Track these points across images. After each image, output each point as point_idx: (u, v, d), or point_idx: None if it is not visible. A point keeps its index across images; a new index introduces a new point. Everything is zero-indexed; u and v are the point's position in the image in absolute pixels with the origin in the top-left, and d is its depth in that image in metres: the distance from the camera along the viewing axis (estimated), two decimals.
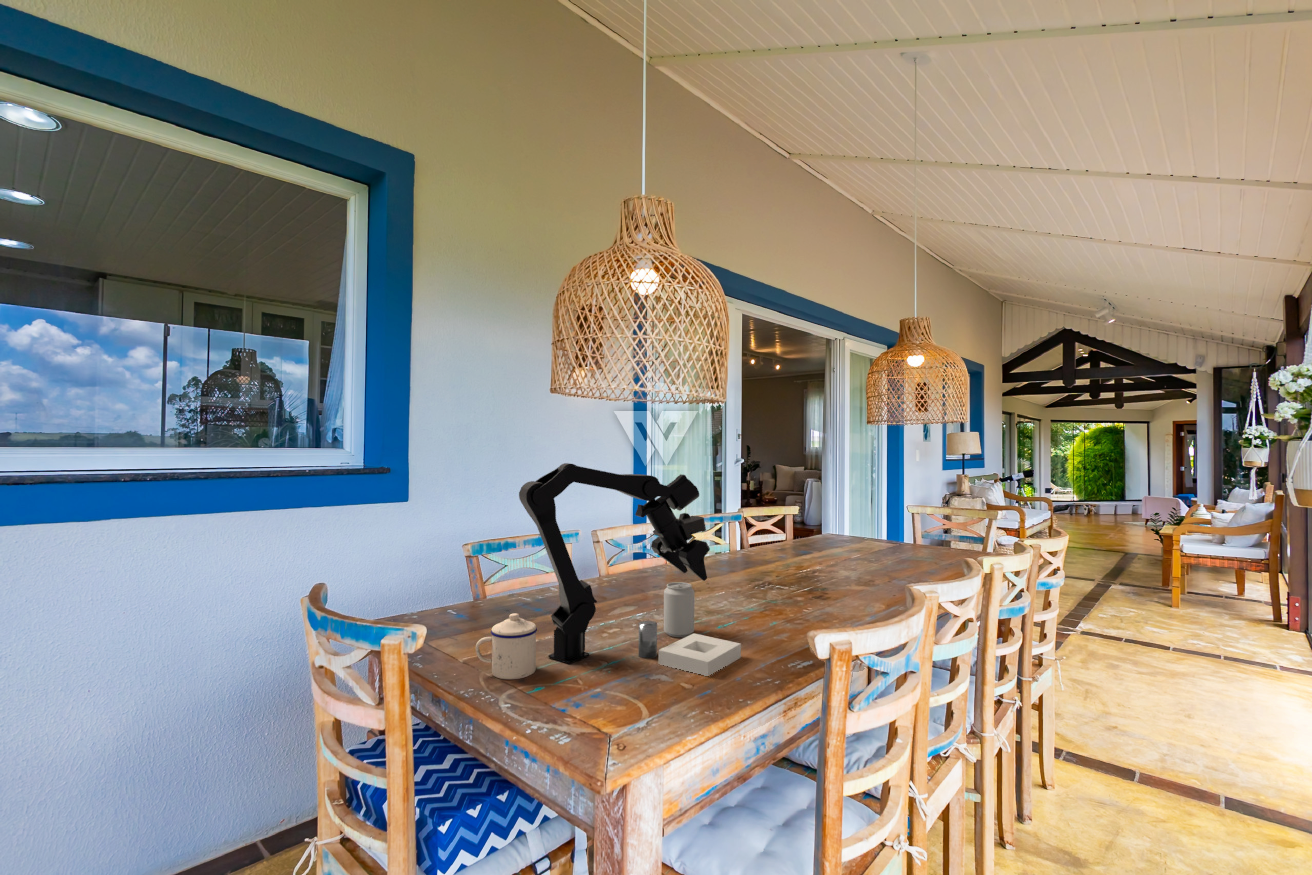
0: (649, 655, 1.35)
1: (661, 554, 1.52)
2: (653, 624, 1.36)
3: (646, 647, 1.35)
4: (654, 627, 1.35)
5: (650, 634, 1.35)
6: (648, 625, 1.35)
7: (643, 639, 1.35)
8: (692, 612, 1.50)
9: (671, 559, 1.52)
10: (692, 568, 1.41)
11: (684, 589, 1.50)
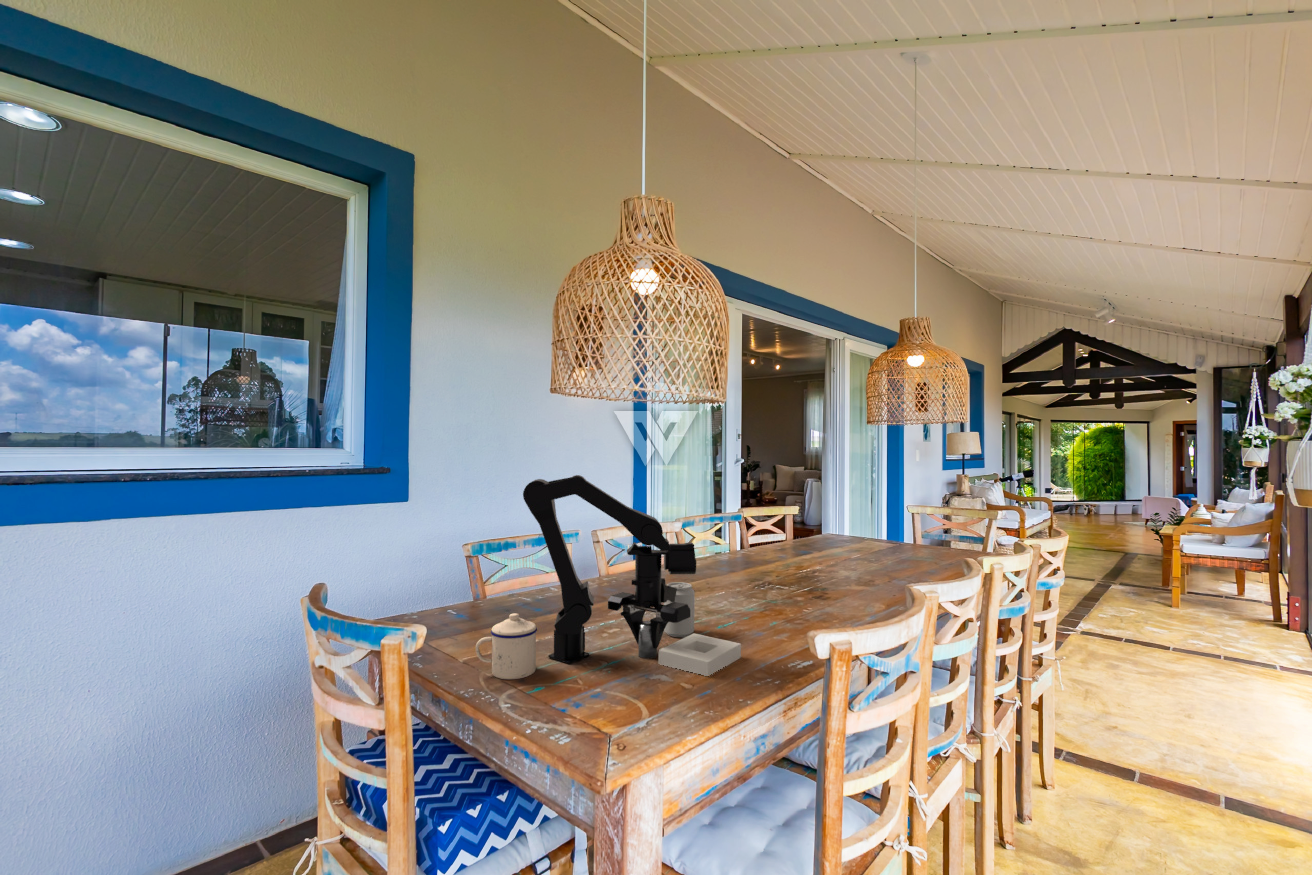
0: (649, 655, 1.35)
1: (626, 613, 1.37)
2: None
3: (646, 647, 1.35)
4: None
5: (650, 634, 1.35)
6: (648, 625, 1.35)
7: (643, 639, 1.35)
8: (693, 612, 1.50)
9: (634, 623, 1.37)
10: (657, 628, 1.33)
11: (684, 589, 1.50)
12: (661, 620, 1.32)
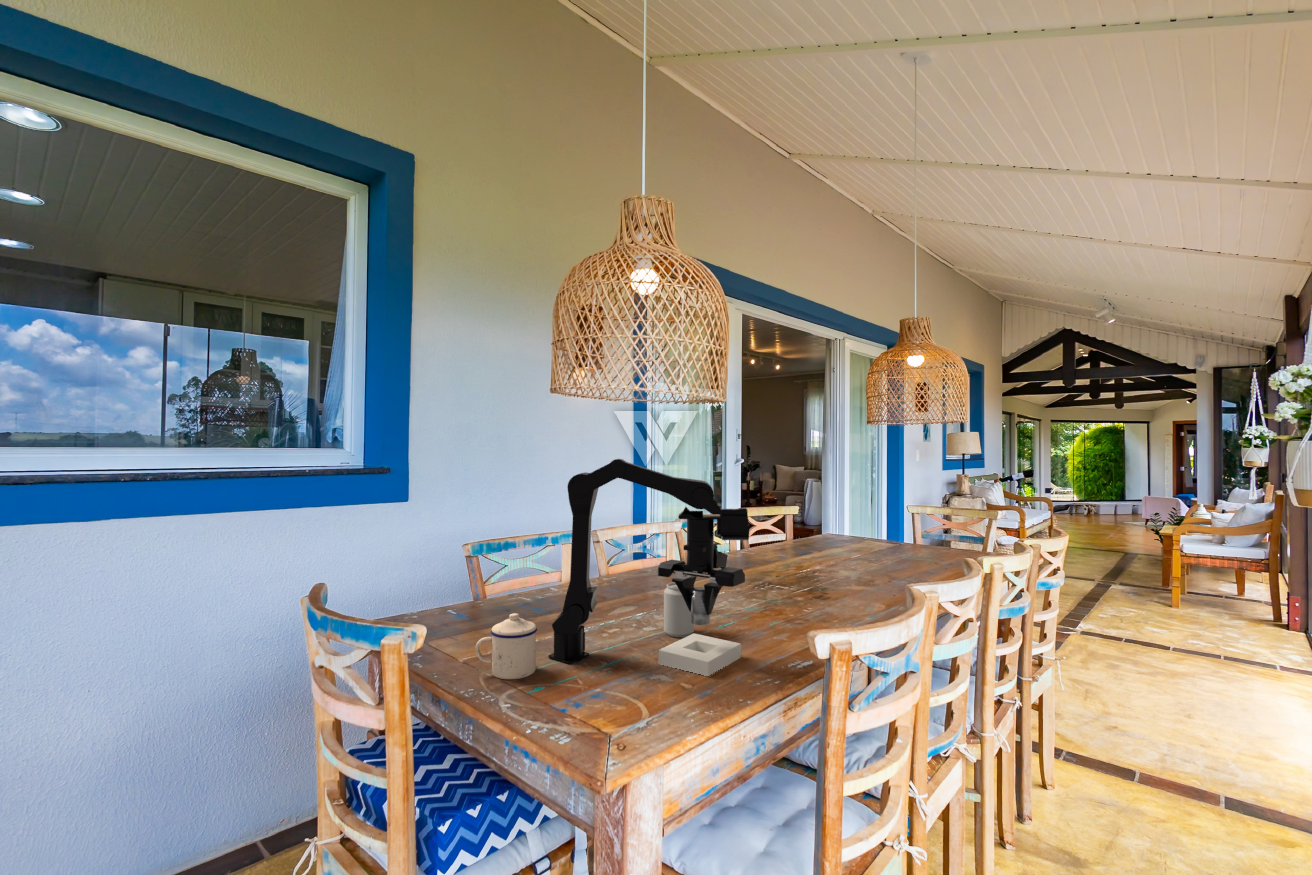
0: (702, 621, 1.32)
1: (678, 580, 1.34)
2: None
3: (700, 613, 1.32)
4: None
5: (703, 600, 1.32)
6: (701, 591, 1.32)
7: (696, 605, 1.32)
8: None
9: (686, 590, 1.34)
10: (711, 593, 1.30)
11: None
12: (716, 585, 1.29)
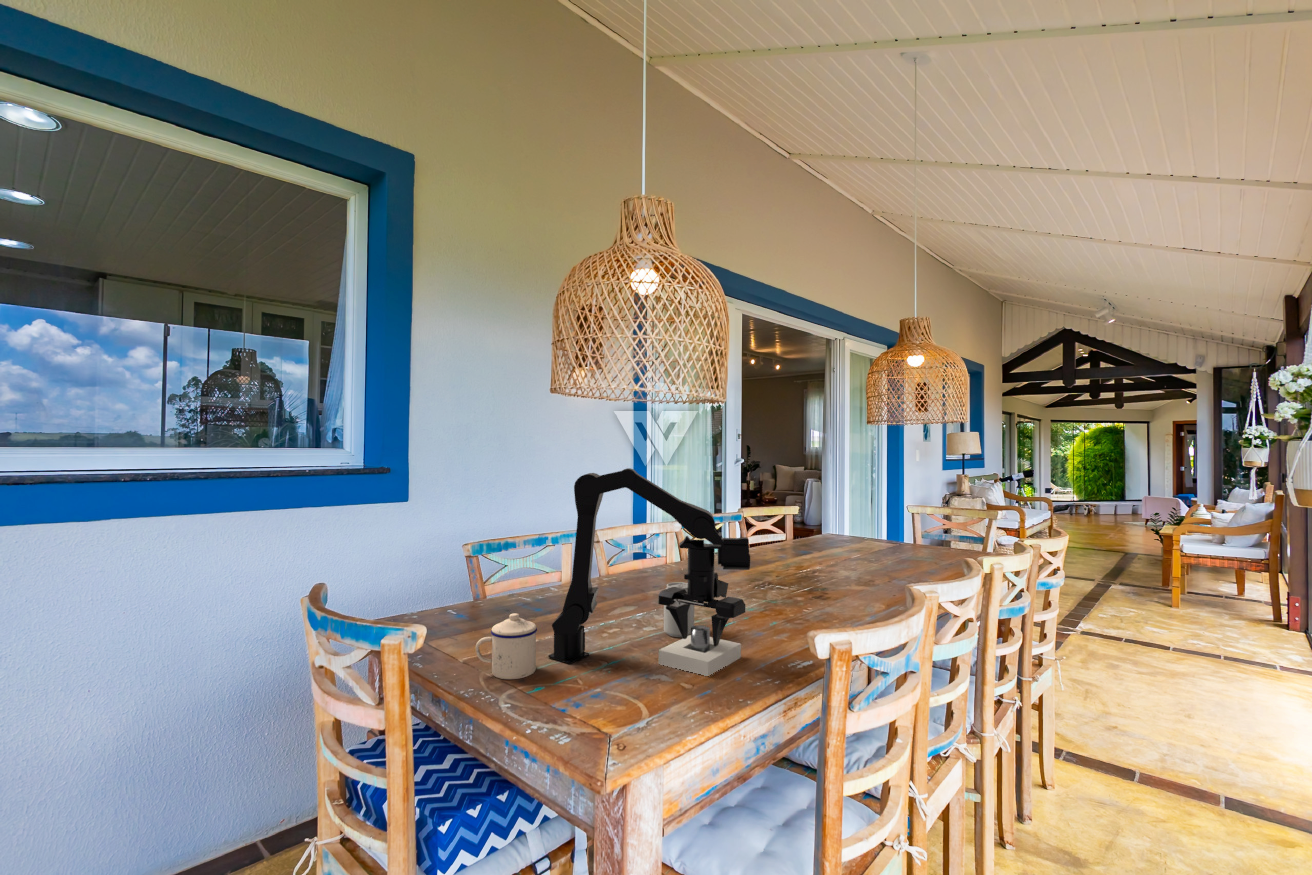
0: None
1: (672, 607, 1.35)
2: (706, 629, 1.33)
3: None
4: (707, 632, 1.32)
5: (703, 639, 1.32)
6: (701, 630, 1.32)
7: (696, 645, 1.32)
8: (692, 612, 1.50)
9: (680, 617, 1.35)
10: (718, 624, 1.29)
11: None
12: (723, 617, 1.28)
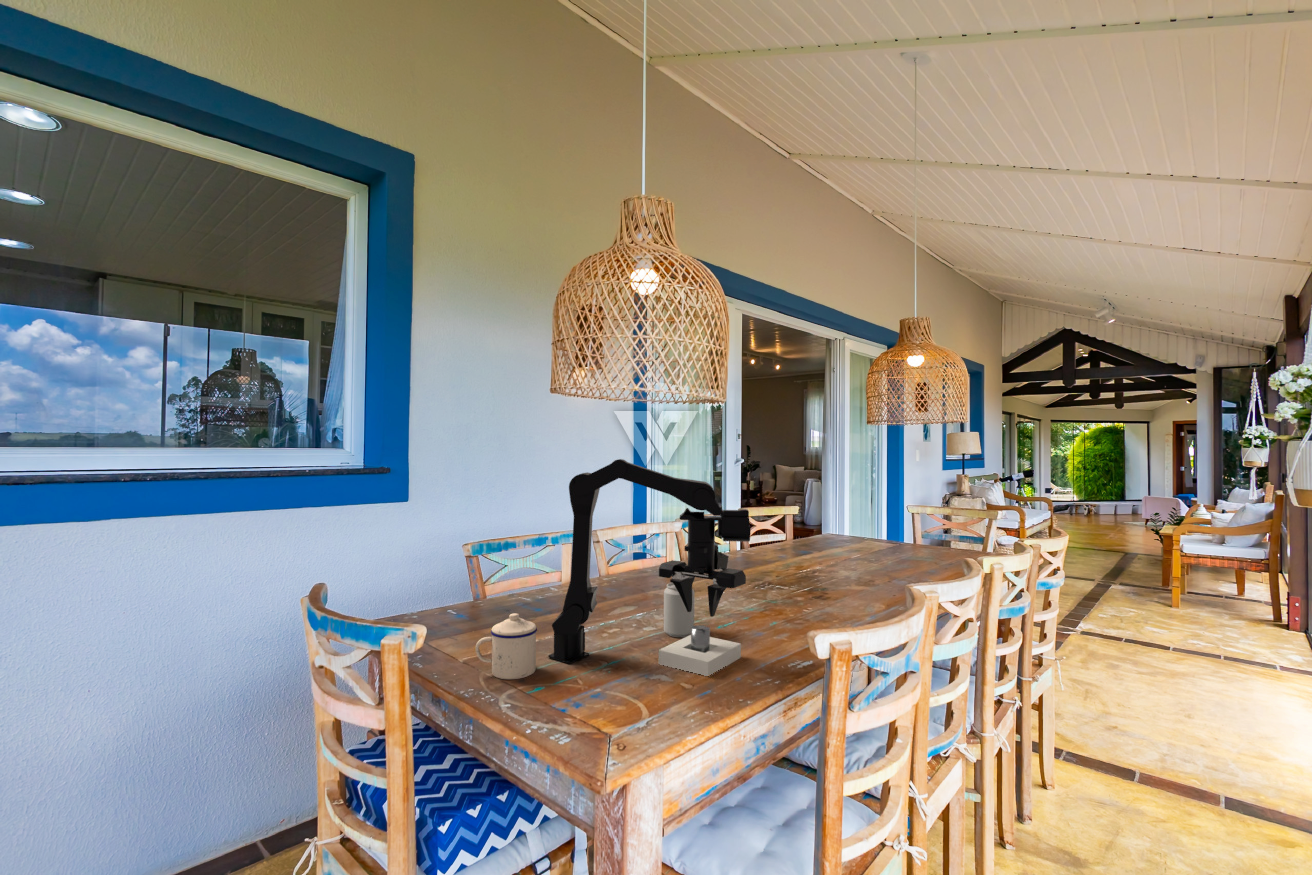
0: None
1: (676, 580, 1.34)
2: (706, 629, 1.33)
3: None
4: (707, 632, 1.32)
5: (703, 639, 1.32)
6: (701, 630, 1.32)
7: (696, 645, 1.32)
8: (692, 612, 1.50)
9: (684, 590, 1.34)
10: (715, 595, 1.29)
11: None
12: (719, 587, 1.29)
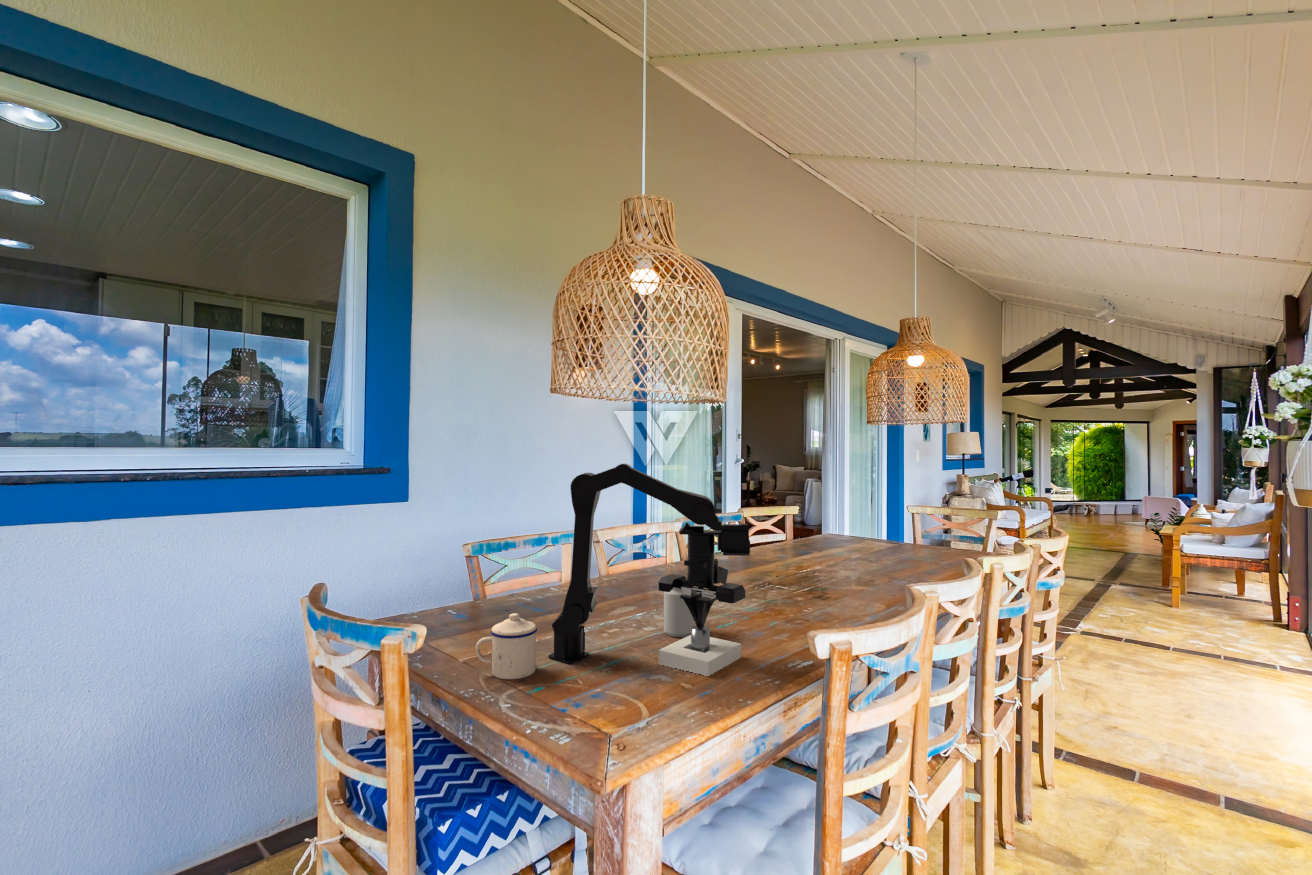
0: None
1: (686, 596, 1.33)
2: (706, 629, 1.33)
3: None
4: (707, 632, 1.32)
5: (703, 639, 1.32)
6: (701, 630, 1.32)
7: (696, 645, 1.32)
8: None
9: (694, 606, 1.33)
10: (703, 607, 1.31)
11: None
12: (708, 599, 1.30)
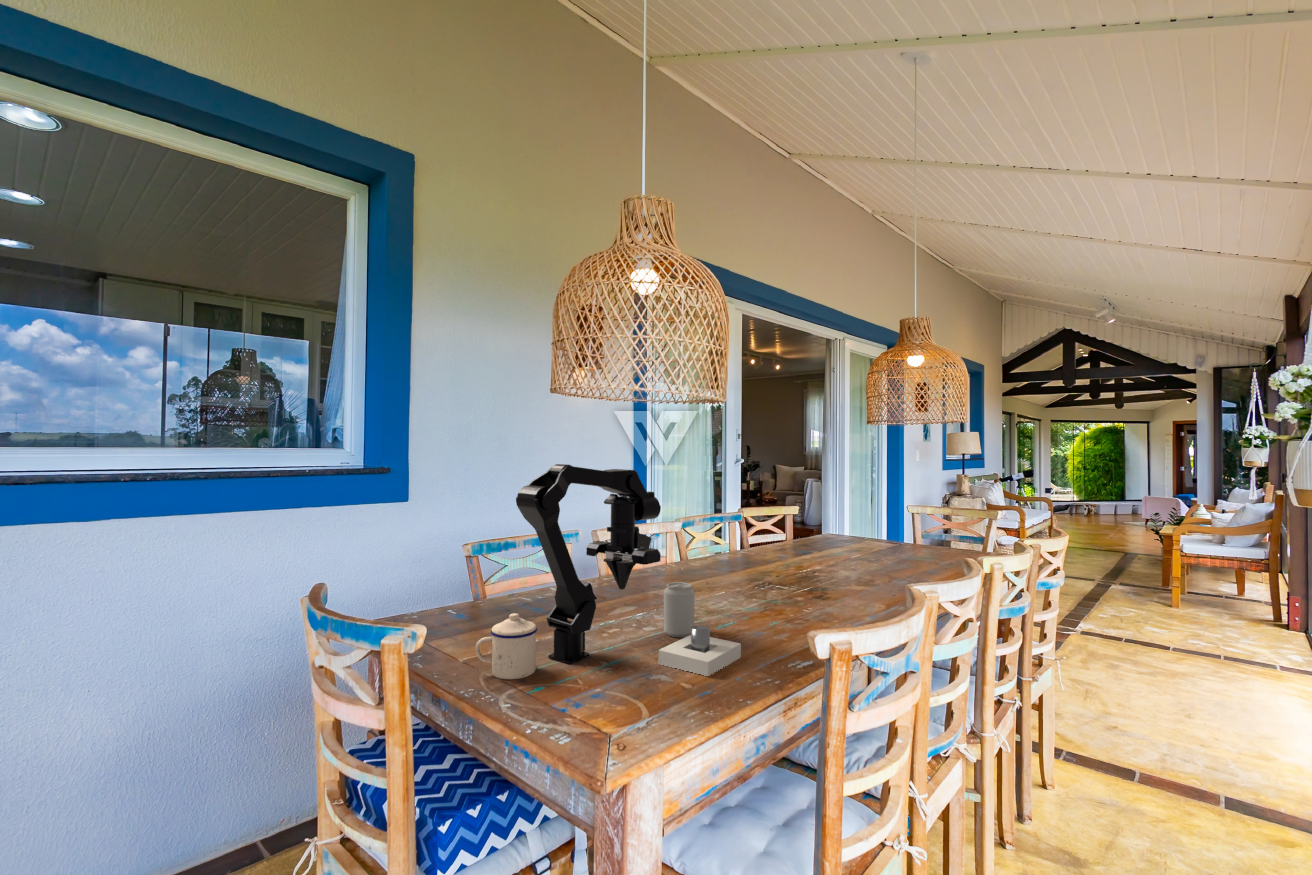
0: None
1: (609, 560, 1.46)
2: (706, 629, 1.33)
3: None
4: (707, 632, 1.32)
5: (703, 639, 1.32)
6: (701, 630, 1.32)
7: (696, 645, 1.32)
8: (692, 612, 1.50)
9: (616, 569, 1.46)
10: (623, 569, 1.44)
11: (684, 589, 1.50)
12: (626, 562, 1.44)
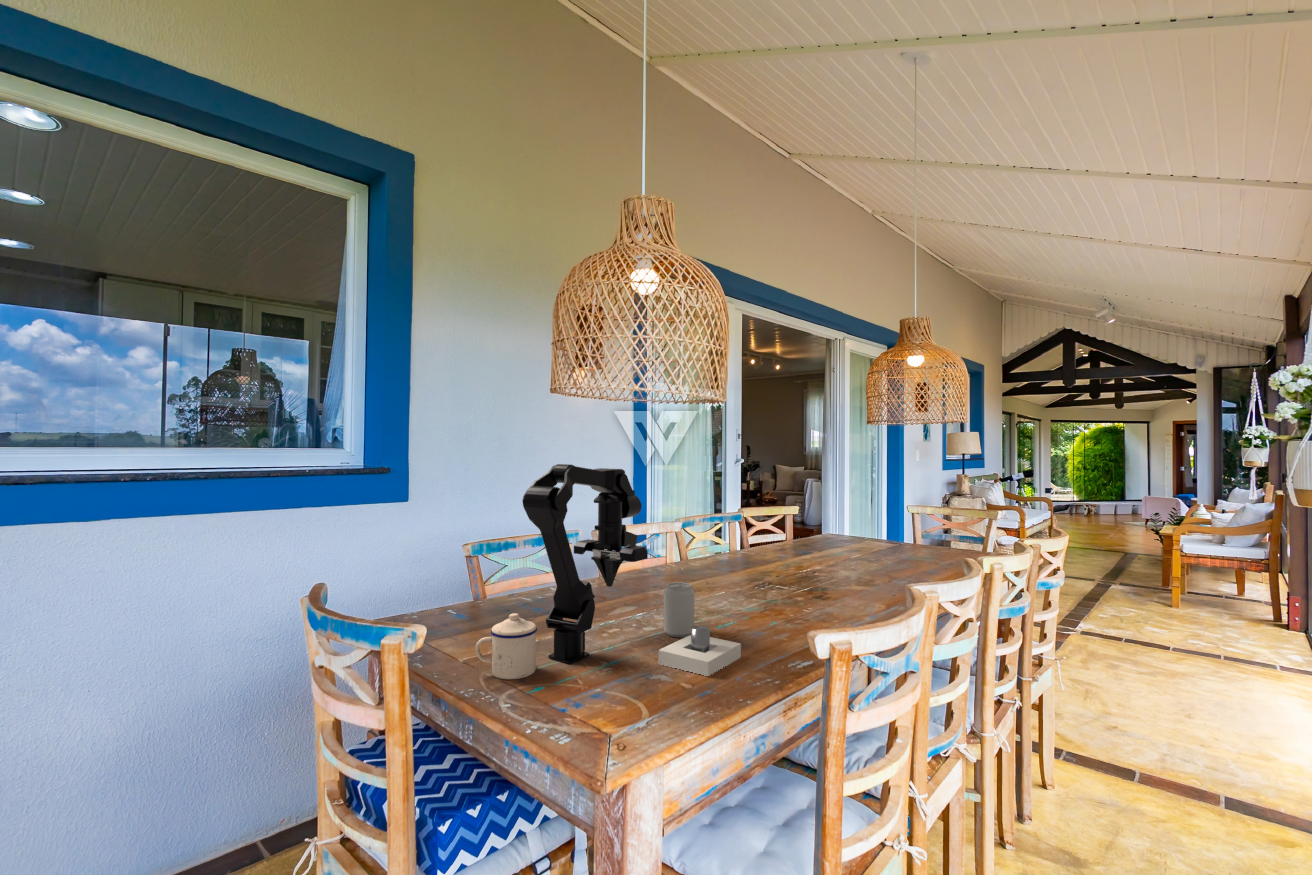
0: None
1: (596, 557, 1.48)
2: (706, 629, 1.33)
3: None
4: (707, 632, 1.32)
5: (703, 639, 1.32)
6: (701, 630, 1.32)
7: (696, 645, 1.32)
8: (692, 612, 1.50)
9: (603, 567, 1.49)
10: (610, 567, 1.47)
11: (684, 589, 1.50)
12: (614, 560, 1.46)
